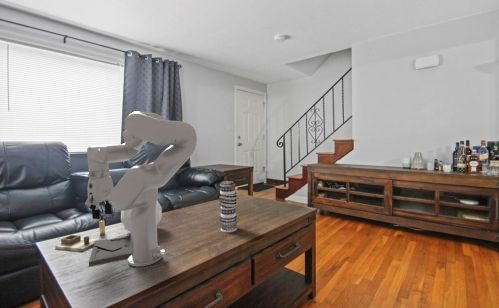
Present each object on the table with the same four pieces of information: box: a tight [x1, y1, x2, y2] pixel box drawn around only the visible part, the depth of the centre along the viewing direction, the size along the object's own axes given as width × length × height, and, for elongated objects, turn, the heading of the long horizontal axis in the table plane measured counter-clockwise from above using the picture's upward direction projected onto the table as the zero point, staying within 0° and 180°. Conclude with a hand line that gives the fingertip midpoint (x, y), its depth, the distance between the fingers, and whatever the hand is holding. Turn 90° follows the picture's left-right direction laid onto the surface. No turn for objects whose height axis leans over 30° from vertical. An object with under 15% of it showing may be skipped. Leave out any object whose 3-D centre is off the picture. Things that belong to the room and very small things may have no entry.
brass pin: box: [98, 219, 106, 236], centre depth 127 cm, size 2×2×7 cm
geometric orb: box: [120, 200, 163, 232], centre depth 129 cm, size 19×20×20 cm
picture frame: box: [88, 235, 132, 266], centre depth 109 cm, size 16×2×21 cm
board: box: [54, 234, 102, 253], centre depth 114 cm, size 15×10×4 cm
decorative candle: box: [218, 180, 238, 233], centre depth 130 cm, size 9×9×25 cm
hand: (102, 215), depth 108 cm, fingers open, 5 cm apart
